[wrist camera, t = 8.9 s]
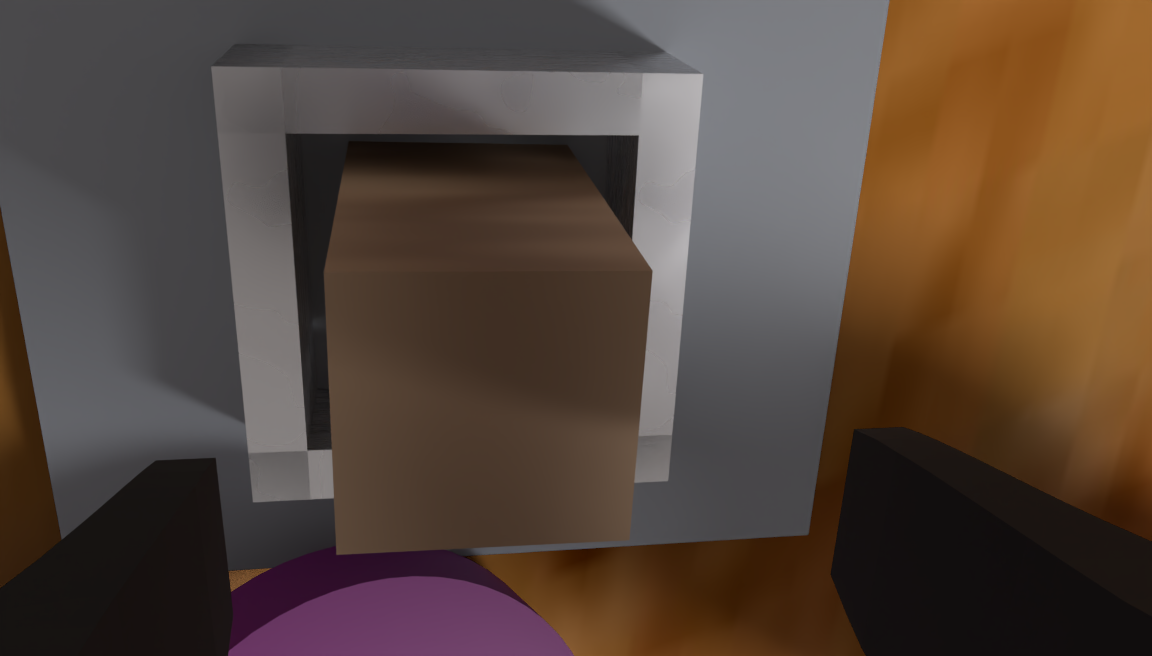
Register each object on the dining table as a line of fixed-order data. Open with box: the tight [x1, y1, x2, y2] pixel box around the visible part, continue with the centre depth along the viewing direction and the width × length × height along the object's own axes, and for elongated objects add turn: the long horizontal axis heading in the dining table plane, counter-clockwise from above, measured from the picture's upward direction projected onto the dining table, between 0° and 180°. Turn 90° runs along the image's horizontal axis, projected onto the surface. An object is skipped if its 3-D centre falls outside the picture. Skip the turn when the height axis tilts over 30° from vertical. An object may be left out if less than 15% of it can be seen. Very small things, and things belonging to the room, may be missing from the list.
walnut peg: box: [324, 141, 653, 555], centre depth 16 cm, size 4×4×7 cm
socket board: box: [0, 0, 889, 571], centre depth 19 cm, size 16×14×3 cm
